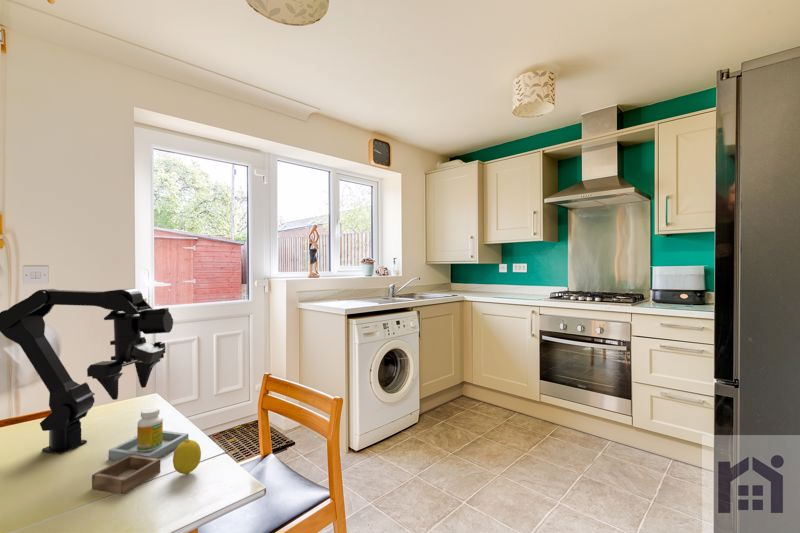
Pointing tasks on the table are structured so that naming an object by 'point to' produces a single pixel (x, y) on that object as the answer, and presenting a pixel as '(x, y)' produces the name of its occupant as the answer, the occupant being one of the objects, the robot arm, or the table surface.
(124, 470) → the brown wooden open box
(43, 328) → the robot arm
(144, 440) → the supplement bottle
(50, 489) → the table surface
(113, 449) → the parts tray
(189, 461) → the lemon
